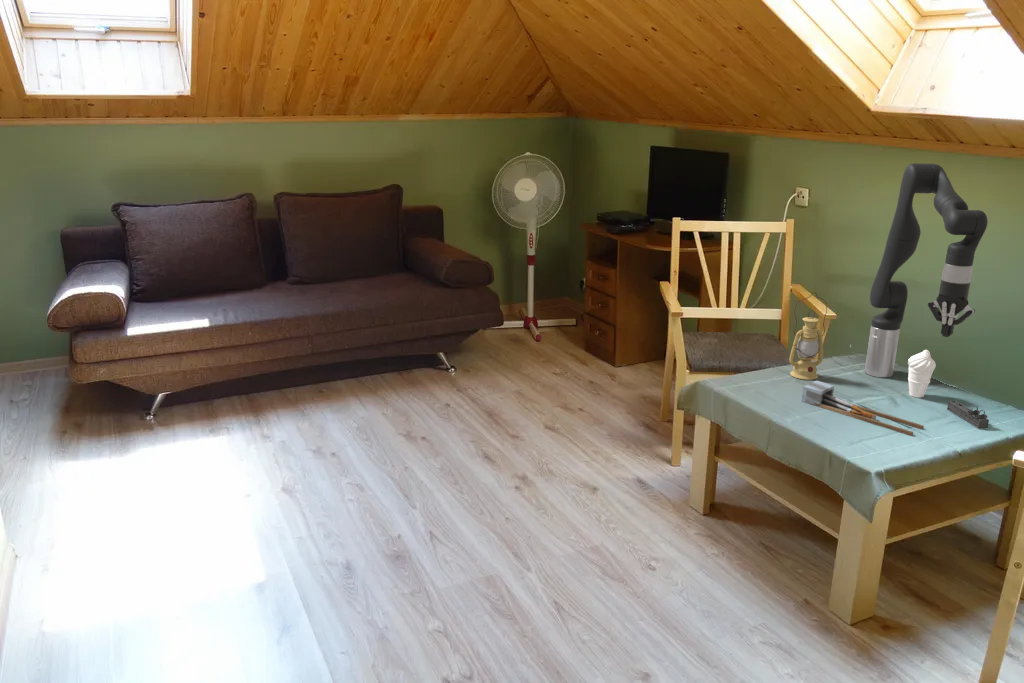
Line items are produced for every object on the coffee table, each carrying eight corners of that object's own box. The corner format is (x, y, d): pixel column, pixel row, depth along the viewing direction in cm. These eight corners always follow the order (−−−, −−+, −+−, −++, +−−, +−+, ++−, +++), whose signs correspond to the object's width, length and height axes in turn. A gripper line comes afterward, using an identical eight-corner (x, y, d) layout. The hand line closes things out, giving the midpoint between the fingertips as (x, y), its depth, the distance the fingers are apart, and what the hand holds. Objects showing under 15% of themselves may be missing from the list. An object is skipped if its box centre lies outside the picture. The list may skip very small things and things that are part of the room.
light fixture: (956, 410, 258) (959, 393, 256) (987, 429, 244) (991, 412, 242) (946, 410, 258) (949, 394, 256) (977, 429, 244) (980, 412, 242)
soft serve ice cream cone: (905, 398, 266) (912, 352, 261) (900, 389, 274) (907, 344, 269) (933, 401, 264) (941, 354, 259) (927, 391, 272) (934, 346, 267)
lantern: (792, 381, 281) (802, 297, 272) (782, 371, 291) (791, 289, 281) (826, 380, 282) (837, 296, 272) (815, 370, 291) (825, 289, 282)
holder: (814, 395, 269) (816, 380, 267) (923, 428, 244) (926, 412, 242) (801, 401, 264) (803, 386, 262) (911, 435, 239) (914, 419, 237)
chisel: (877, 415, 250) (872, 412, 248) (873, 423, 250) (868, 421, 248) (828, 394, 266) (823, 392, 264) (825, 402, 266) (819, 400, 264)
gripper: (985, 281, 233) (975, 338, 239) (937, 273, 243) (928, 328, 248) (975, 285, 229) (964, 344, 234) (927, 277, 238) (917, 333, 243)
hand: (946, 336), depth 241 cm, fingers closed
